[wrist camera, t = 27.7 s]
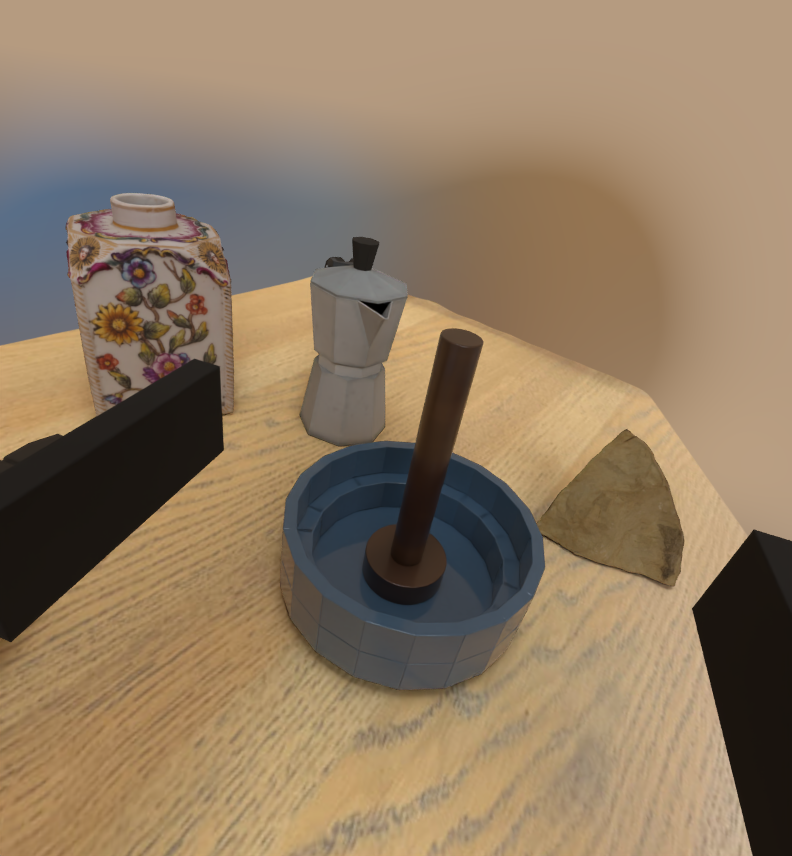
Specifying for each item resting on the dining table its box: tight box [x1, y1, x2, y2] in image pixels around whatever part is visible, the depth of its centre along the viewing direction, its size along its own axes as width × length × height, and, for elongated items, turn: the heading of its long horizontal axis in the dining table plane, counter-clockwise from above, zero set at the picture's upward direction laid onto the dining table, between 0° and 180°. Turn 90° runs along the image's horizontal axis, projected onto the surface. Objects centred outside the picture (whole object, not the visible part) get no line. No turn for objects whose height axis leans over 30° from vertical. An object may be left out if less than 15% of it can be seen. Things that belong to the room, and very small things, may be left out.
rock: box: [537, 429, 684, 586], centre depth 39 cm, size 11×9×10 cm
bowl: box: [280, 441, 545, 690], centre depth 33 cm, size 17×17×6 cm
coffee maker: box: [300, 237, 407, 446], centre depth 46 cm, size 15×9×18 cm, turn 23°
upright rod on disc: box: [363, 328, 483, 605], centre depth 30 cm, size 6×6×18 cm
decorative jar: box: [66, 193, 234, 416], centre depth 45 cm, size 12×12×18 cm
